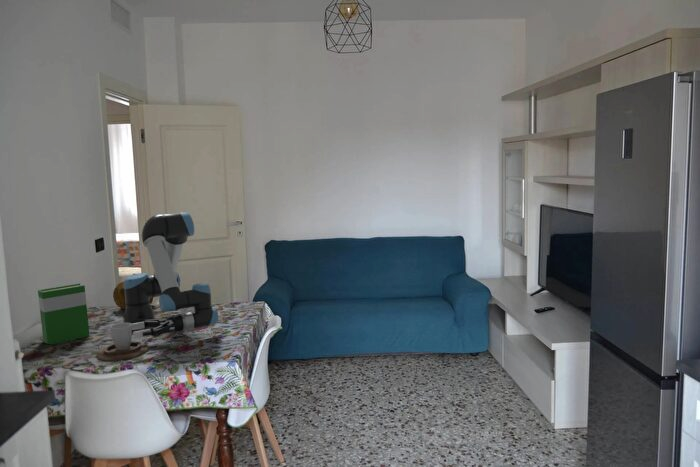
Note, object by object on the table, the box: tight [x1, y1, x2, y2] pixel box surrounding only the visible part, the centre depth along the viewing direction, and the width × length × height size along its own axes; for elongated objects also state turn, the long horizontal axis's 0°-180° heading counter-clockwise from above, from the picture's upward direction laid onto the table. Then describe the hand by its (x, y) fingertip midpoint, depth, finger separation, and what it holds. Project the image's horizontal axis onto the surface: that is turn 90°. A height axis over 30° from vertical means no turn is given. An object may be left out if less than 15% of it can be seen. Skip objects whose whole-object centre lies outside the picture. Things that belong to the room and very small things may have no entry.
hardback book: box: [37, 283, 91, 345], centre depth 250 cm, size 18×7×24 cm, turn 133°
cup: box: [110, 322, 133, 351], centre depth 230 cm, size 8×8×10 cm
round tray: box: [96, 340, 149, 362], centre depth 229 cm, size 20×20×2 cm
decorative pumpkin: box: [112, 273, 154, 310], centre depth 303 cm, size 20×21×20 cm
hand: (130, 331), depth 229 cm, fingers open, 13 cm apart
